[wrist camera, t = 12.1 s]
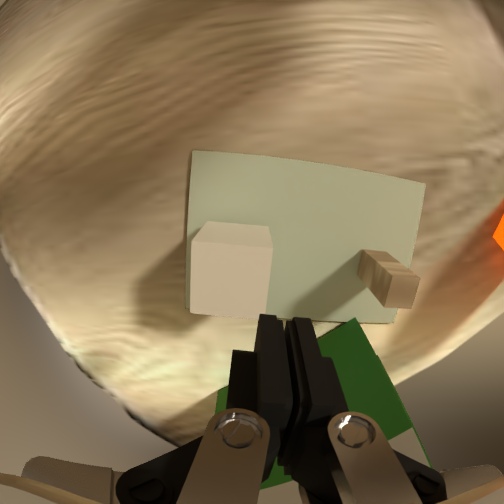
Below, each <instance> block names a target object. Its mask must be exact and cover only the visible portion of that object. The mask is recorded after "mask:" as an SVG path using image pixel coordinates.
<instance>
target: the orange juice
mask: <svg viewBox="0 0 504 504" xmlns="http://www.w3.org/2000/svg"><path fill="white" fill-rule="evenodd" d="M493 238H494V239H495V240H496V241H497V243H498V244H499V245H500V246H501V248H502V249H503V250H504V215H503V217H502V219H501V221H500V223H499V225H498V227H497V229H496V231H495V233H494V235H493Z"/></svg>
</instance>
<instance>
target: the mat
mask: <svg viewBox="0 0 504 504" xmlns="http://www.w3.org/2000/svg"><path fill="white" fill-rule="evenodd" d="M425 185H426V184H423V183H419V182H415V181H411V180H406V179H402V178H398V177H393V176H388V175H384V174H379V173H374V172H369V171H363V170H358V169H352V168H347V167H341V166H335V165H329V164H323V163H316V162H309V161H302V160H294V159H287V158H278V157H270V156H260V155H250V154H239V153H227V152H213V151H197V150H193V153H192V165H191V177H190V191H189V207H188V225H187V247H186V281H185V308H186V309H190V278H191V243H192V240H193V238H194V237H195V236H196V235H197V233H198V232H199V231H200V229H201V228H202V227H203V226H204V224H205V223H206V222H207V221H214V222H226V223H237V224H248V225H259V226H269V231H270V235H271V240H272V245H273V255H272V263H271V272H270V280H269V288H268V296H267V304H266V312H265V314H269V315H276V316H277V318H287V319H293V317H303V318H310V319H311V320H318V321H338V322H348V321H349V320H351V319H353V318H354V317H356V319H357V321H358V322H365V323H394V320H395V317H396V314H397V310H398V308H384V307H383V306H382V305H381V303H380V302H379V301H378V300H377V298H376V297H375V296H374V295H373V294H372V292H371V291H370V290H369V289H368V287H367V286H366V285H365V284H364V283H363V281H362V280H361V279H360V278H359V277H358V276H357V272H358V267H359V262H360V258H361V253H362V249H368V250H376V251H385V252H387V253H388V254H390V255H391V256H392V257H394V258H395V259H396V260H398V261H399V262H400V263H402V264H403V265H404V266H406V267H407V268H408V269H409V267H410V263H411V259H412V255H413V250H414V246H415V241H416V237H417V232H418V227H419V222H420V216H421V211H422V205H423V198H424V192H425Z"/></svg>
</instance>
